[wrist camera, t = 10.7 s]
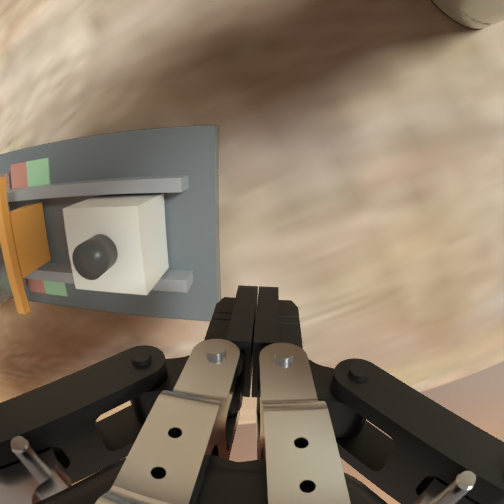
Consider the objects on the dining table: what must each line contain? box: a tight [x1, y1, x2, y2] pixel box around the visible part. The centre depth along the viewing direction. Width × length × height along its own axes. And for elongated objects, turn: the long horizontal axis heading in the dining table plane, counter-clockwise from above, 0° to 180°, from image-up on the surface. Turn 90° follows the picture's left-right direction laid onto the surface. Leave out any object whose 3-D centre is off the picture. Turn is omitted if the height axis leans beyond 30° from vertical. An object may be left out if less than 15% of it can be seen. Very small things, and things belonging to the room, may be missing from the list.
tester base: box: [0, 125, 221, 321], centre depth 24 cm, size 16×24×4 cm, turn 89°
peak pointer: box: [0, 177, 51, 315], centre depth 22 cm, size 12×1×5 cm, turn 179°
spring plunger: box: [63, 193, 169, 295], centre depth 21 cm, size 6×6×7 cm
